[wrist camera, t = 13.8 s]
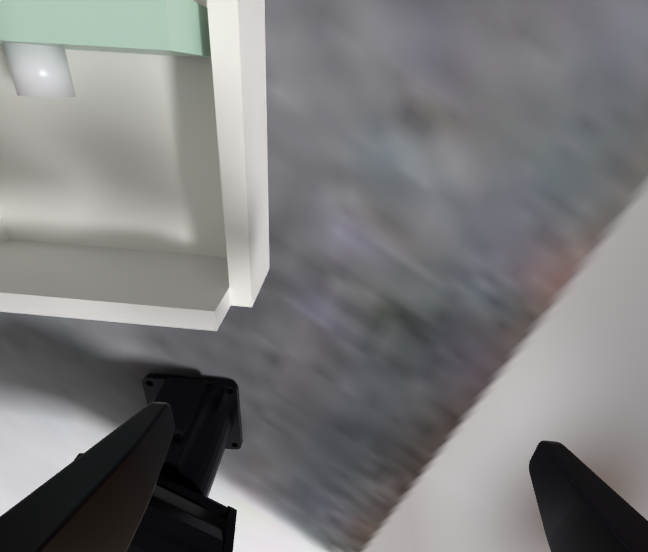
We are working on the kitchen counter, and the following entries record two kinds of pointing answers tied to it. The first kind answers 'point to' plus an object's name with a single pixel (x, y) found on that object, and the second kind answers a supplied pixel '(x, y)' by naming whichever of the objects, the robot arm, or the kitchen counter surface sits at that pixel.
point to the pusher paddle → (93, 36)
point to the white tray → (140, 183)
